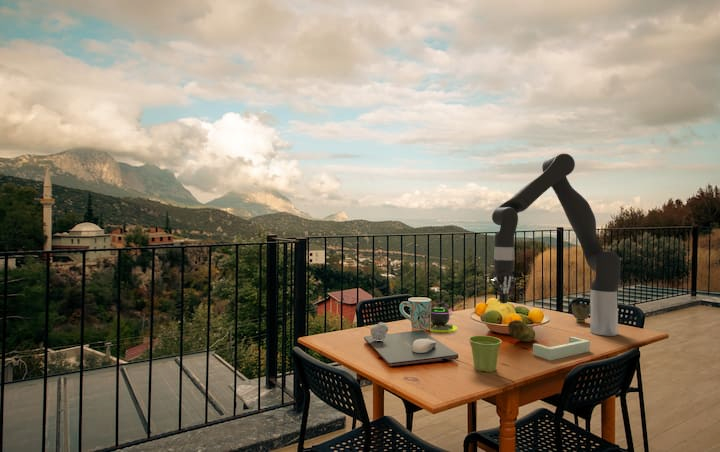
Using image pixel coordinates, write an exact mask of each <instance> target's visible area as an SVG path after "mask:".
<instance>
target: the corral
mask: <svg viewBox="0 0 720 452" xmlns="http://www.w3.org/2000/svg"><path fill="white" fill-rule="evenodd" d="M590 347H591V343H590V340H587V339H583V338H579V337H575V336H569V339H568V343H564V344H560V345H555V346H550V347H549V346H545V345H542V344H540V343H532V355H533V356H535V357H539V358H542V359H545V360H548V361H554V360H557V359H562V358H563V359H564V358H567V357H570V356H575V355H576V356H577V355H580V354H583V353H584V354H585V353H588V352H589V353H590Z"/></svg>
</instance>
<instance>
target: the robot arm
mask: <svg viewBox="0 0 720 452" xmlns="http://www.w3.org/2000/svg"><path fill="white" fill-rule="evenodd" d="M541 167H542V173H541V174H539V176H537V177H536V178H534V179H533V180H532V181H530V182H529V183H527V184H526V185H524V186H523V187H522V188H520V190H518V192H516V193H515V194H514V195H513V196H512V197H511V198H509V199H508V200H507V201H504V202H503V203H502V204H499V206H498V207H497V208H496V209H494V211H493V212H492V215H491V220H492V222H493V223H494V224H495V225H497V226H500V227H499V231H497V232H496V233H495V236H494V251H493V271H494V272H495V273H494V277H493V279H490V280H489V283H490V284H491V286H492V288H493V290H494V291H495V292H497V293H498V294H499V303H500V304H507V303H508V296H509V295H508V294H509V293H512V291H513V289H515V285H516V284H517V282H518V279H517V278H515V277H514V275H513V272H514V271H515V234H516V231H517V228H518V227H517V226H518V224H519V216H518V215H519V213H521V212H522V213H523V212H524V211H526V210H527V209H528V208H529V207H531V205H532V204H534V202H536V201H537V199H539V198H540V197H541V196H542V195H543V194H544V193H545V192H547V191H548V189H550V188H552V190H553V192H554V193H555V194H556V197H557V199H558V201H559V203H560V205H561V207H562V209H563V211H564V213H565V216H566V218H567V220H568V222H569V224H570V226H571V227H572V229H573V232H574V234H575V237H576V238H577V240H578V242H579V244H580V247H581V250H582V252H583V255H584V257H585V261H586V264H587V266H588V268H590V269H591V270H592V271H593V272H595V278H594V280H593V281H591V282H590V287H589V288H590V291H589V292H590V298H589V299H590V301H589V302H590V304H589V305H590V313H589V316H590V321H589V323H590V325H589V326H590V327H589V331H590V333H592V334H595V335H598V336H599V335H600V336H606V337H609V336H610V337H614V336H617V335H618V333H619V310H618V286H619V285H620V281H621V268H622V267H621V259H620V256H619V255H618V253H616V252H615V251H612V250H608V249H604V246H603V245H602V243H601V242H600V240H599V238H598V234H597V220H596V216H595V214H594V212H593V210H592V207H591V205H590V203H589V202H588V201H587V199H586V198H585V197H583V196H582V195H581V194H580V193H579V192H578V191H577V190H575V189H574V188H573V186H572V185H571V183H570V182H569V180H568V177H567V176H569V175H570V174H572V172H573V171H574V169H575V167H576V164H575V159H574V157H573V156H571V155H570V154H568V153H559V154H556V155H554V156H550V157H549V158H547V159H546V160H544V161H543V163H542V166H541Z"/></svg>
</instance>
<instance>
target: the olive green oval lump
mask: <svg viewBox="0 0 720 452" xmlns="http://www.w3.org/2000/svg"><path fill="white" fill-rule="evenodd" d="M507 328H508V333H509V336H510V337H513V338H514V339H515V340H516V339H517V340H520V341H521V342H525V343H529V342H532V341H534V340H535V338H536V332H535V330H534V328H532V327H531V326H529V325H528V324H527V323H526V322H524V321H522V320H517V319H515V320H511V321H510V322H509V323H508V324H507Z"/></svg>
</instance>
